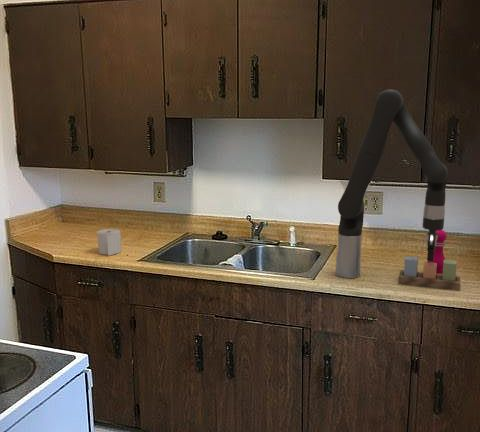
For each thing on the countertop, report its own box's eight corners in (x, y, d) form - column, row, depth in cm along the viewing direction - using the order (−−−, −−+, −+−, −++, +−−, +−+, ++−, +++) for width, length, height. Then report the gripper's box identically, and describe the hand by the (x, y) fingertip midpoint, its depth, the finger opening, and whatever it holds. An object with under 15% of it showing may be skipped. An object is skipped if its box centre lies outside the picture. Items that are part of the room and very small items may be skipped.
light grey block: (114, 247, 264) (113, 227, 262) (127, 252, 255) (126, 231, 253) (94, 251, 257) (93, 231, 255) (107, 257, 248) (105, 235, 246)
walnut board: (398, 284, 209) (398, 276, 209) (400, 277, 217) (400, 269, 217) (459, 291, 201) (460, 283, 201) (459, 283, 209) (460, 276, 209)
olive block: (442, 280, 205) (443, 263, 204) (442, 277, 209) (443, 259, 208) (455, 282, 203) (456, 264, 202) (455, 278, 208) (456, 260, 206)
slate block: (403, 276, 210) (404, 259, 209) (404, 273, 214) (405, 256, 213) (416, 278, 208) (417, 260, 207) (417, 274, 213) (418, 257, 211)
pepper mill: (441, 270, 225) (444, 223, 221) (448, 276, 218) (452, 227, 214) (423, 271, 225) (427, 224, 220) (430, 276, 218) (433, 228, 213)
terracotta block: (422, 282, 208) (423, 265, 206) (423, 279, 212) (424, 262, 211) (435, 284, 206) (436, 266, 205) (435, 280, 210) (436, 263, 209)
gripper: (424, 212, 211) (420, 254, 215) (422, 219, 199) (418, 264, 203) (444, 213, 208) (441, 256, 212) (444, 220, 196) (440, 266, 200)
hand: (430, 260), depth 207 cm, fingers closed
